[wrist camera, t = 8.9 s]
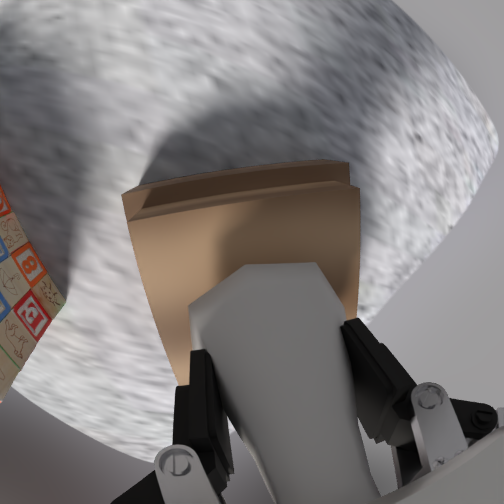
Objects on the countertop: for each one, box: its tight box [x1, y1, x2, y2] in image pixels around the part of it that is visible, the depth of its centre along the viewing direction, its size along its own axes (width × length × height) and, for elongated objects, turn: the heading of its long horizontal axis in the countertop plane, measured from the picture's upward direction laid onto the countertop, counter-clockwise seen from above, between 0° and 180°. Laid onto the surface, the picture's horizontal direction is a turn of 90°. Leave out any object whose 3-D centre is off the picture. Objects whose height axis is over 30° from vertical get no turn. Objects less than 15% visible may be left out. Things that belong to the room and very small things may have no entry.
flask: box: [188, 262, 381, 504], centre depth 8 cm, size 7×7×10 cm
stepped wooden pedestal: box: [122, 159, 360, 386], centre depth 18 cm, size 13×13×7 cm
